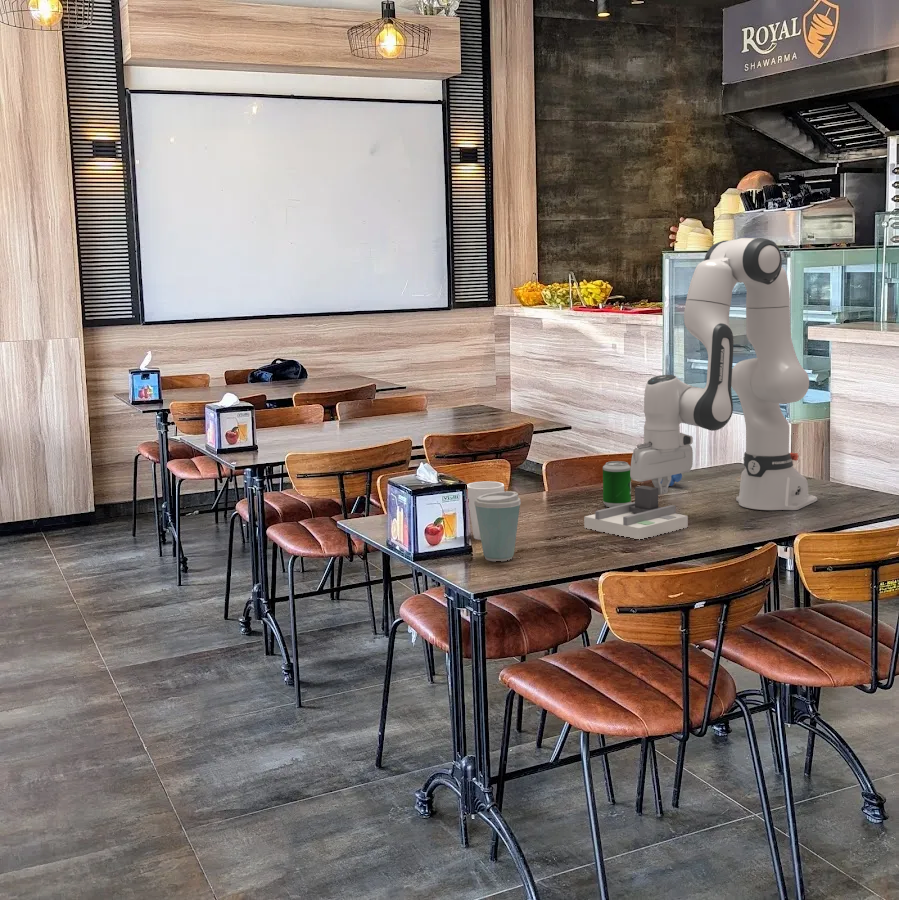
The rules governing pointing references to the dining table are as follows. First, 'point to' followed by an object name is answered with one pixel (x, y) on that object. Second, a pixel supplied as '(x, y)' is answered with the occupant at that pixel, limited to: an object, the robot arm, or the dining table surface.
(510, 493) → the disposable coffee cup
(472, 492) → the foam cup
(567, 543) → the dining table surface
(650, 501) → the handle
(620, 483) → the soda can
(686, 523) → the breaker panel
